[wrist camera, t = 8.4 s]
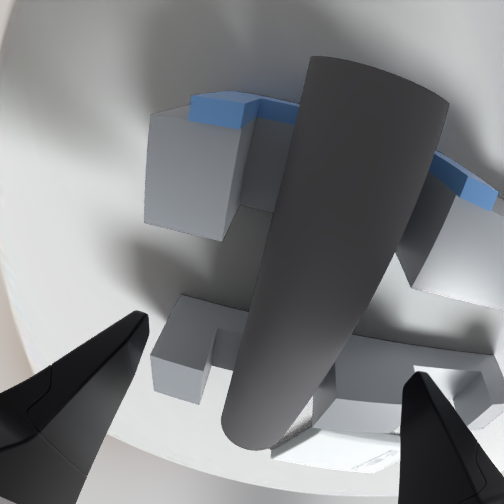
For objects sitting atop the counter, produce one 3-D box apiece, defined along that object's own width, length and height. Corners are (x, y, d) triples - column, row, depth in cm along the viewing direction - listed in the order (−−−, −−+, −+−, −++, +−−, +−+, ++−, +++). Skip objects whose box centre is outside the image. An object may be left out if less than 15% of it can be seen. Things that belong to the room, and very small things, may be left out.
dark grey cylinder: (413, 98, 7) (476, 115, 4) (285, 399, 16) (284, 453, 13) (304, 61, 7) (321, 49, 4) (225, 390, 16) (217, 445, 13)
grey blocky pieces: (573, 232, 9) (614, 274, 5) (469, 383, 16) (483, 431, 12) (203, 86, 9) (149, 91, 6) (179, 333, 16) (152, 394, 13)
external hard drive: (321, 413, 20) (425, 434, 21) (271, 445, 24) (370, 463, 25) (321, 431, 19) (427, 448, 20) (269, 460, 23) (370, 475, 24)
